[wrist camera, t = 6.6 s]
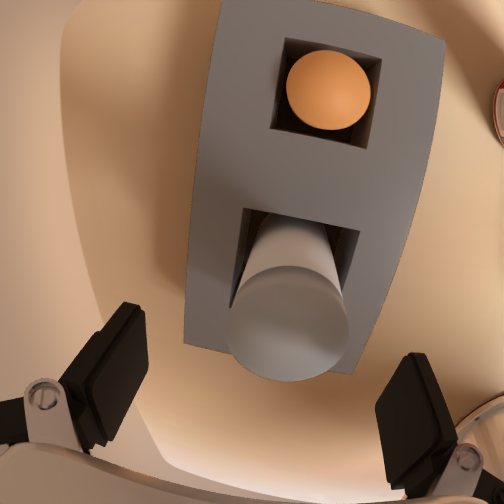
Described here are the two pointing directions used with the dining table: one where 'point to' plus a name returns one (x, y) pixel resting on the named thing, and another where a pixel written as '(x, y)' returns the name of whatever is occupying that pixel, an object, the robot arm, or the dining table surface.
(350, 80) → the brown egg
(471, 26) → the dining table surface
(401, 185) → the housing
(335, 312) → the cylinder
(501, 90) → the soda can
